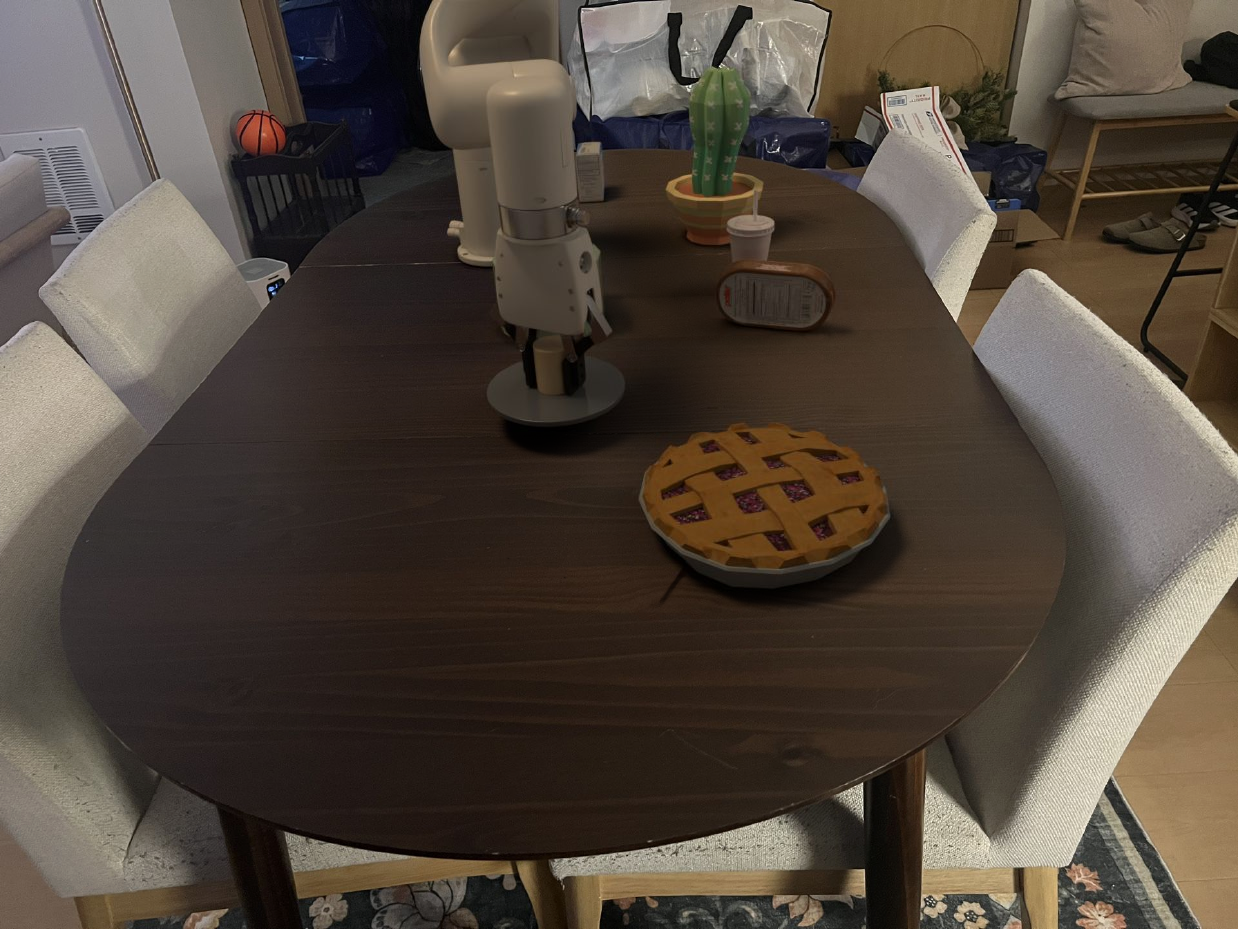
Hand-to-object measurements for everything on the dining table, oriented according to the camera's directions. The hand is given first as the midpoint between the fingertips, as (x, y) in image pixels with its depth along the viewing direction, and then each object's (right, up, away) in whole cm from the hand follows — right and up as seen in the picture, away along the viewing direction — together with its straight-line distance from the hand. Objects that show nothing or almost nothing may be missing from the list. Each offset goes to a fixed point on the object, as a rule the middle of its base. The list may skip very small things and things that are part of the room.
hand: (555, 383), depth 98 cm
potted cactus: (+22, +28, +50) cm, 61 cm away
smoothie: (+25, +16, +31) cm, 43 cm away
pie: (+20, -14, -14) cm, 28 cm away
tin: (+26, +9, +20) cm, 35 cm away
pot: (-2, +10, +24) cm, 26 cm away
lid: (0, -1, 0) cm, 1 cm away
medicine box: (+2, +40, +70) cm, 81 cm away
